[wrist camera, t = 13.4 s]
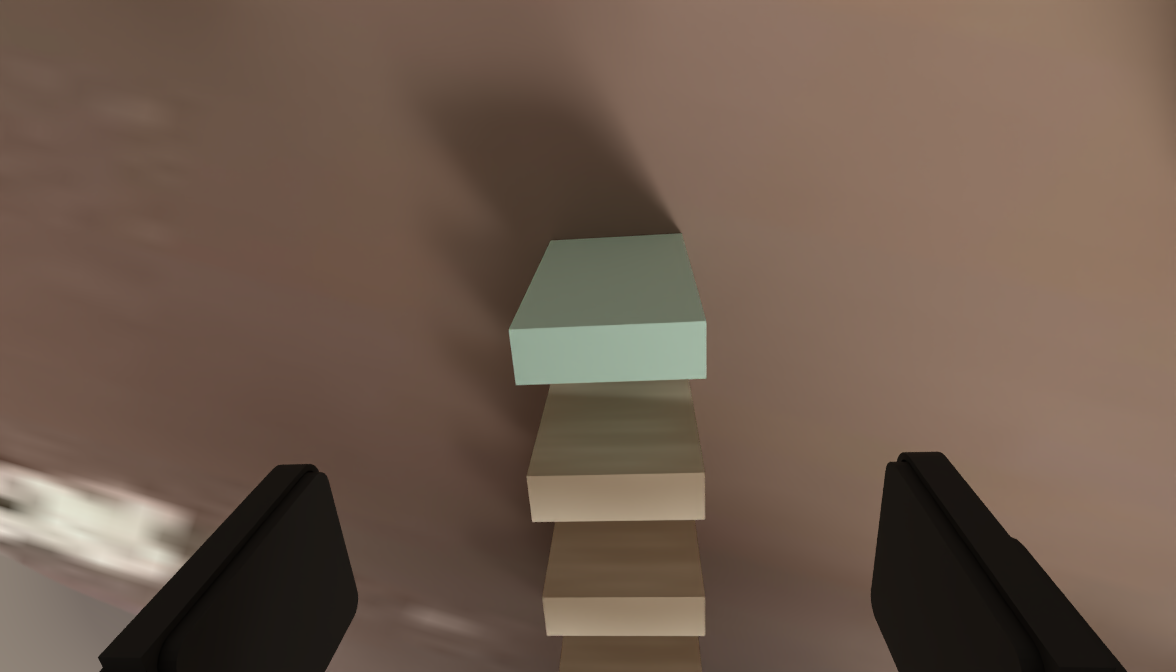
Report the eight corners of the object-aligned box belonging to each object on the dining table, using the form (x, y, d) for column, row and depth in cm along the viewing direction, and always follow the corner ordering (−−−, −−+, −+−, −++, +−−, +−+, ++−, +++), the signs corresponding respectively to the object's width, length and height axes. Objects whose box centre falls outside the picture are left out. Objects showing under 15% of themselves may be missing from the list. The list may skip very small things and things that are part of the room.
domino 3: (684, 469, 28) (705, 636, 20) (571, 471, 29) (547, 635, 20) (683, 437, 28) (704, 597, 19) (568, 440, 28) (542, 597, 20)
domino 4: (685, 549, 30) (705, 733, 22) (579, 550, 30) (559, 731, 22) (685, 521, 29) (705, 701, 21) (577, 523, 30) (555, 699, 22)
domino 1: (682, 273, 25) (706, 378, 17) (554, 280, 25) (515, 385, 17) (681, 233, 24) (706, 321, 16) (550, 240, 25) (508, 329, 16)
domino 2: (682, 377, 27) (704, 519, 18) (563, 381, 27) (532, 521, 19) (682, 342, 26) (704, 472, 18) (560, 347, 26) (526, 476, 18)
